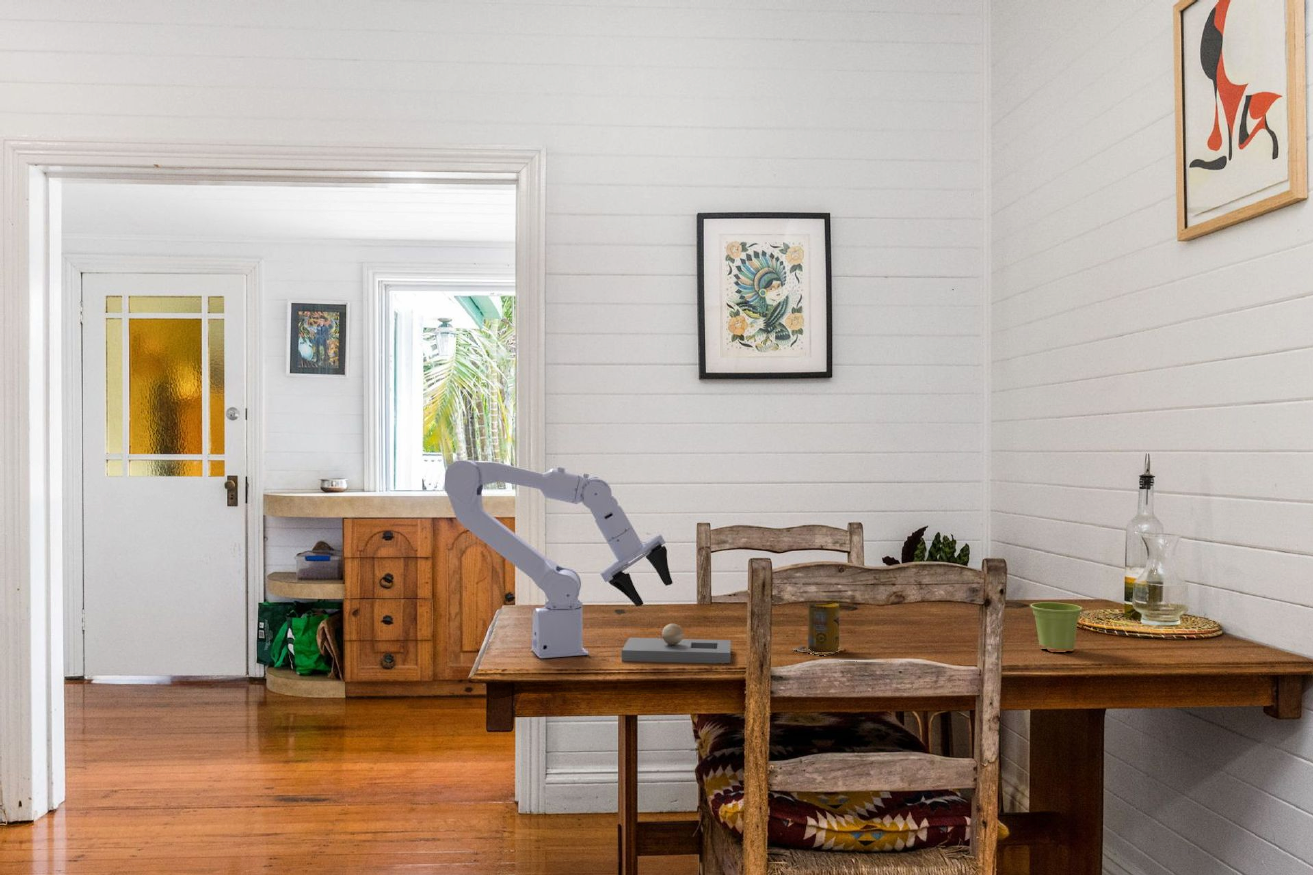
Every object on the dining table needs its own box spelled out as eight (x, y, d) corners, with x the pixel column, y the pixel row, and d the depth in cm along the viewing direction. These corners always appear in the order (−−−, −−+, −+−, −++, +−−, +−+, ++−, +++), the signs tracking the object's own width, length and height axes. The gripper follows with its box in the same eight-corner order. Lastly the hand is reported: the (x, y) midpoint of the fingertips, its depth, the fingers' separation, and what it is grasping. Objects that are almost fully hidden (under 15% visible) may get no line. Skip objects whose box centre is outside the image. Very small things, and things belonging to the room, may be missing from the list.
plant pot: (1030, 653, 174) (1030, 608, 174) (1030, 643, 183) (1030, 600, 183) (1084, 657, 170) (1083, 611, 170) (1080, 647, 179) (1080, 603, 179)
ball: (666, 647, 168) (666, 626, 168) (659, 643, 172) (659, 622, 172) (686, 646, 170) (686, 624, 170) (678, 641, 173) (678, 621, 173)
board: (621, 660, 166) (621, 650, 166) (629, 647, 177) (629, 637, 177) (730, 663, 164) (730, 652, 164) (730, 650, 175) (730, 639, 175)
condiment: (848, 650, 176) (848, 588, 176) (822, 657, 170) (822, 593, 170) (817, 644, 181) (817, 584, 181) (791, 650, 175) (792, 589, 176)
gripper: (598, 549, 166) (635, 613, 167) (656, 512, 174) (691, 572, 174) (584, 555, 172) (619, 616, 173) (640, 518, 180) (674, 577, 180)
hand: (654, 594), depth 174 cm, fingers open, 7 cm apart
